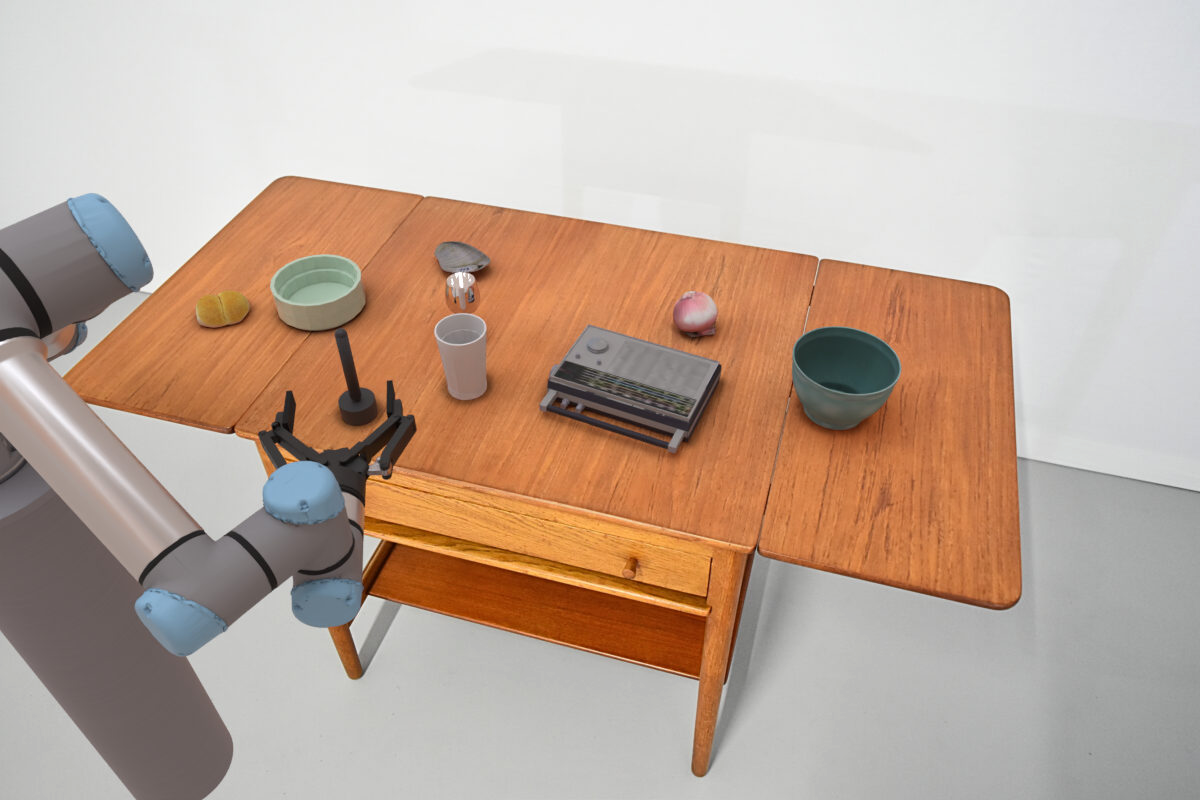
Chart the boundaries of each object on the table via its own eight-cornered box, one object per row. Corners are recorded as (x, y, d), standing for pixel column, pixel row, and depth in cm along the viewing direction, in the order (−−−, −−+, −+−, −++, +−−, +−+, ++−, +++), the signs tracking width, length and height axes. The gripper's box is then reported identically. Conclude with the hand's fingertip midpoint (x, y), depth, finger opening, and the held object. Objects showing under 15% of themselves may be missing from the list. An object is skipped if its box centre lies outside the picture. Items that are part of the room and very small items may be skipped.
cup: (435, 380, 147) (426, 322, 139) (480, 365, 150) (473, 307, 142) (454, 409, 142) (446, 351, 134) (500, 393, 145) (495, 335, 137)
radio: (723, 355, 144) (680, 436, 131) (720, 380, 148) (678, 461, 134) (585, 316, 151) (531, 389, 138) (585, 341, 155) (532, 414, 141)
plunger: (354, 431, 138) (333, 347, 127) (334, 413, 141) (312, 329, 130) (385, 413, 141) (367, 329, 130) (364, 396, 144) (345, 312, 133)
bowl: (308, 345, 153) (300, 317, 149) (262, 306, 161) (253, 278, 157) (383, 307, 161) (378, 279, 157) (335, 271, 169) (329, 244, 165)
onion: (693, 309, 162) (696, 276, 157) (726, 329, 158) (730, 296, 153) (663, 328, 157) (665, 295, 153) (696, 349, 153) (699, 315, 149)
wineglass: (475, 350, 152) (469, 293, 144) (444, 343, 154) (437, 286, 146) (489, 330, 157) (484, 274, 148) (459, 324, 158) (452, 267, 150)
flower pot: (841, 365, 151) (854, 314, 143) (907, 426, 140) (924, 374, 133) (762, 395, 145) (771, 343, 138) (823, 460, 135) (837, 408, 127)
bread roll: (254, 321, 158) (248, 302, 155) (201, 334, 155) (194, 315, 152) (246, 295, 163) (241, 277, 161) (195, 307, 160) (188, 289, 158)
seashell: (421, 271, 169) (418, 248, 166) (447, 249, 175) (444, 227, 171) (473, 289, 165) (471, 266, 162) (498, 266, 171) (496, 244, 167)
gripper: (235, 540, 111) (255, 421, 126) (439, 515, 114) (435, 402, 129) (218, 500, 106) (241, 381, 121) (432, 475, 109) (428, 363, 124)
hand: (341, 392), depth 125 cm, fingers open, 13 cm apart
